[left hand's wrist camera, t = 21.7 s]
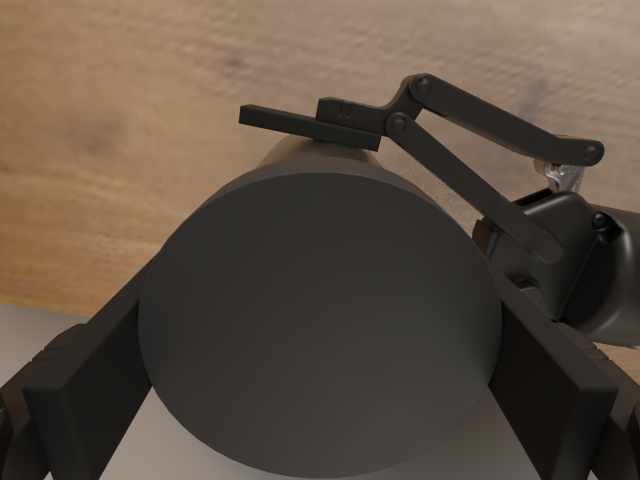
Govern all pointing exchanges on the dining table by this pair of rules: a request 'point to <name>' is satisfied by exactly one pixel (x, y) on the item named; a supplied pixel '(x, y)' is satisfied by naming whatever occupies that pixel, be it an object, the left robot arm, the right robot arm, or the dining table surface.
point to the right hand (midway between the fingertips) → (233, 205)
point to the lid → (320, 320)
